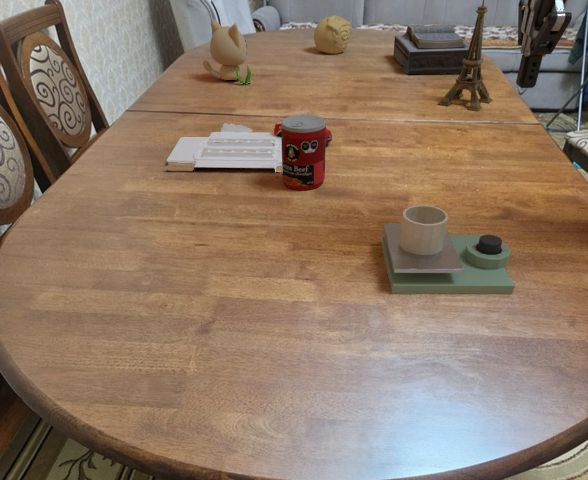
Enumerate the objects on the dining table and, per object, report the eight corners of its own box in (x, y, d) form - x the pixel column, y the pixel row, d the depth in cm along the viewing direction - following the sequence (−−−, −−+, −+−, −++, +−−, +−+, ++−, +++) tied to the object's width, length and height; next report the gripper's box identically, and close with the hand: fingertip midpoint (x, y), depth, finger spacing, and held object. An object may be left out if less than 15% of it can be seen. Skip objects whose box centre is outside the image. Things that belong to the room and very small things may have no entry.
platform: (443, 226, 81) (444, 222, 81) (462, 273, 71) (463, 269, 71) (383, 226, 81) (383, 223, 81) (393, 273, 71) (394, 269, 71)
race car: (336, 141, 117) (337, 122, 115) (324, 149, 114) (325, 129, 111) (284, 130, 123) (284, 112, 120) (271, 138, 119) (270, 119, 116)
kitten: (262, 81, 157) (260, 21, 147) (236, 88, 151) (232, 26, 142) (228, 72, 165) (223, 15, 155) (202, 79, 159) (196, 20, 150)
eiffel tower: (492, 100, 140) (517, -16, 124) (478, 111, 134) (502, -11, 118) (453, 94, 145) (472, -19, 129) (437, 104, 138) (455, -14, 122)
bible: (464, 55, 179) (470, 21, 172) (473, 76, 158) (480, 38, 152) (392, 54, 182) (396, 20, 175) (392, 74, 161) (395, 36, 155)
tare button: (496, 245, 78) (498, 234, 76) (501, 256, 75) (504, 244, 74) (474, 245, 78) (477, 234, 76) (479, 256, 75) (482, 244, 74)
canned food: (274, 185, 101) (272, 123, 94) (298, 171, 106) (297, 111, 99) (309, 194, 97) (309, 131, 90) (332, 179, 103) (334, 118, 95)
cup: (438, 234, 78) (443, 204, 75) (446, 255, 74) (452, 225, 71) (396, 234, 78) (400, 205, 75) (402, 255, 74) (406, 225, 71)
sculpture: (339, 57, 179) (341, 19, 172) (307, 53, 184) (308, 16, 177) (355, 50, 186) (357, 14, 180) (324, 47, 191) (325, 11, 184)
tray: (307, 173, 105) (306, 154, 103) (164, 177, 107) (160, 158, 104) (309, 137, 121) (309, 119, 118) (185, 141, 123) (182, 123, 120)
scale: (492, 243, 83) (496, 225, 81) (519, 294, 73) (525, 275, 71) (380, 243, 84) (382, 225, 82) (391, 294, 73) (394, 275, 71)
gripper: (622, -74, 58) (571, 100, 69) (575, -79, 68) (537, 73, 79) (551, -73, 58) (510, 100, 69) (514, -78, 68) (484, 74, 79)
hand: (524, 86), depth 74 cm, fingers closed
